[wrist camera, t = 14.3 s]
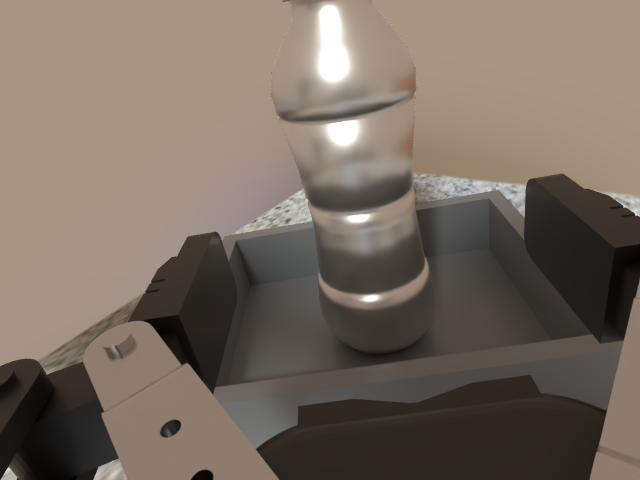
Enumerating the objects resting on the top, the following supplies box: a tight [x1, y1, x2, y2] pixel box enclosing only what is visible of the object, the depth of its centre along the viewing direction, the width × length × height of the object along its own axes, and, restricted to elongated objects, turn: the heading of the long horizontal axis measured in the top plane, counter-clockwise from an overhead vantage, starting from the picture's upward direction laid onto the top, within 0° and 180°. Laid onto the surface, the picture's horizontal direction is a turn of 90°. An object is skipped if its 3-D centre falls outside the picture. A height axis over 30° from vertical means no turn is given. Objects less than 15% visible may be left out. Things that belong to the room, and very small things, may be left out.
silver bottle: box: [271, 0, 436, 354], centre depth 22 cm, size 6×7×20 cm
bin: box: [213, 190, 624, 449], centre depth 27 cm, size 20×16×5 cm
